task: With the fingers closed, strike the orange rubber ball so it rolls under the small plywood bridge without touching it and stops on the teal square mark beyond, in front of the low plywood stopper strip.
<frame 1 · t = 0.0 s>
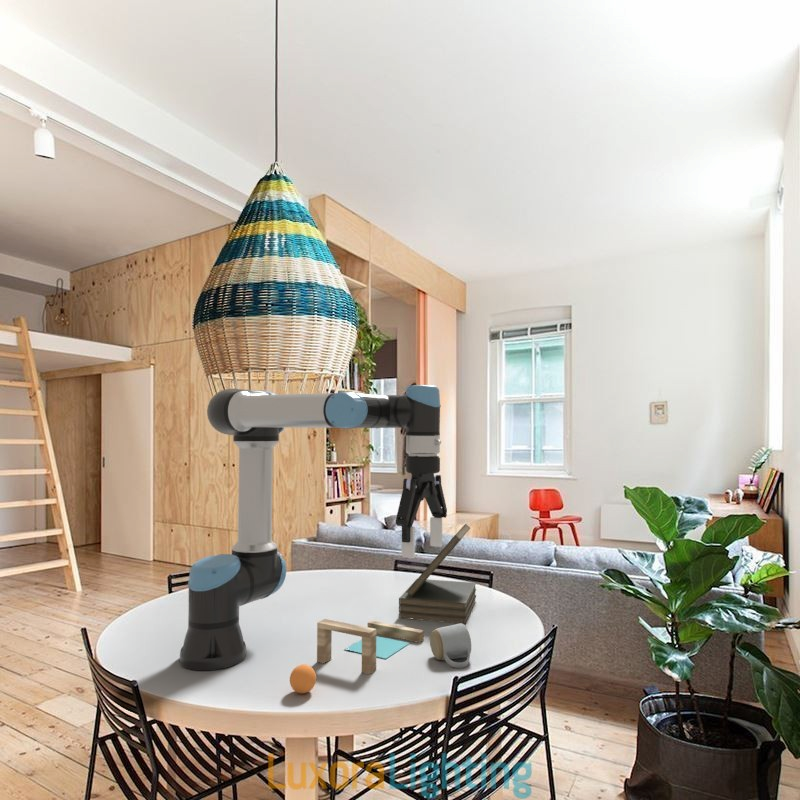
hand: (422, 551, 134), 28 cm above the table, tool pointing down, fingers open, 13 cm apart
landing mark: (377, 646, 154), on the table
ceramic mug: (453, 660, 146), on the table
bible: (439, 611, 185), on the table
stopper: (395, 636, 161), on the table
ball: (303, 678, 128), on the table
bridge: (346, 665, 141), on the table
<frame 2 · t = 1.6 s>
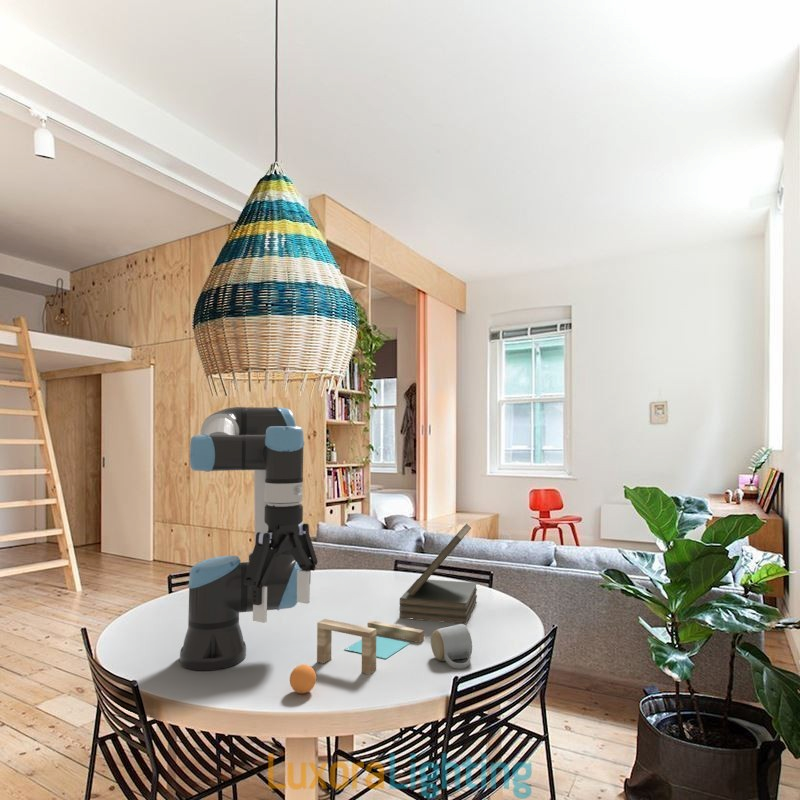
hand: (282, 611, 121), 19 cm above the table, tool pointing down, fingers open, 13 cm apart
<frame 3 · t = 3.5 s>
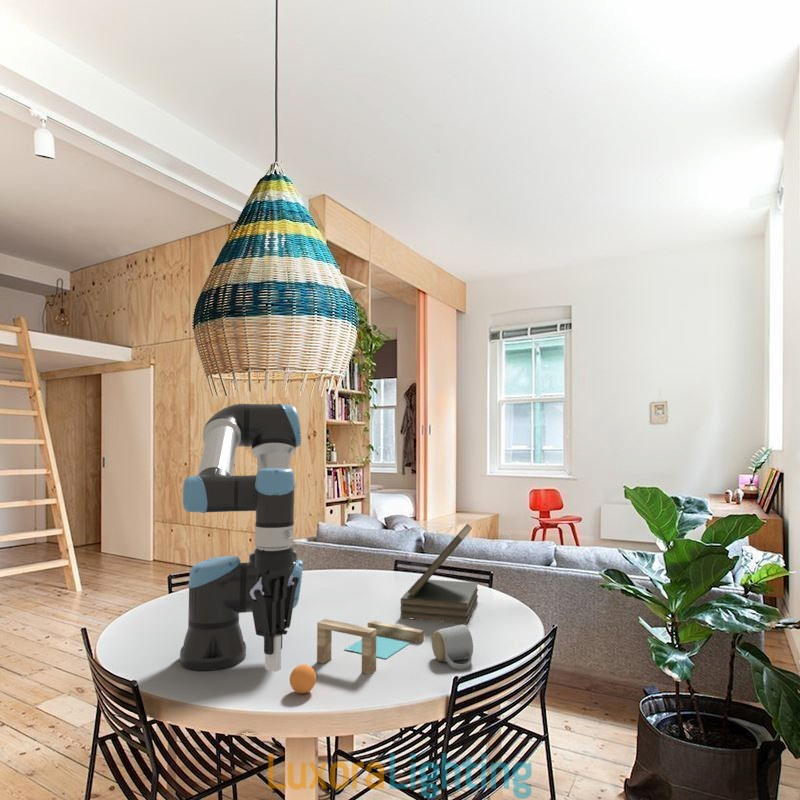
hand: (272, 669, 119), 8 cm above the table, tool pointing down, fingers closed
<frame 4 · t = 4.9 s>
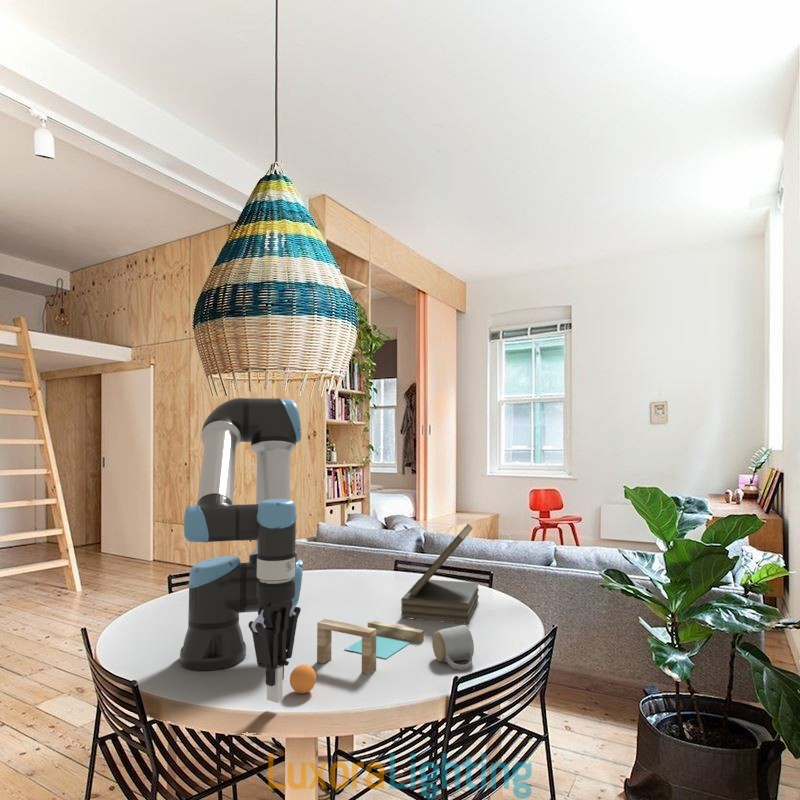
hand: (274, 699, 120), 2 cm above the table, tool pointing down, fingers closed
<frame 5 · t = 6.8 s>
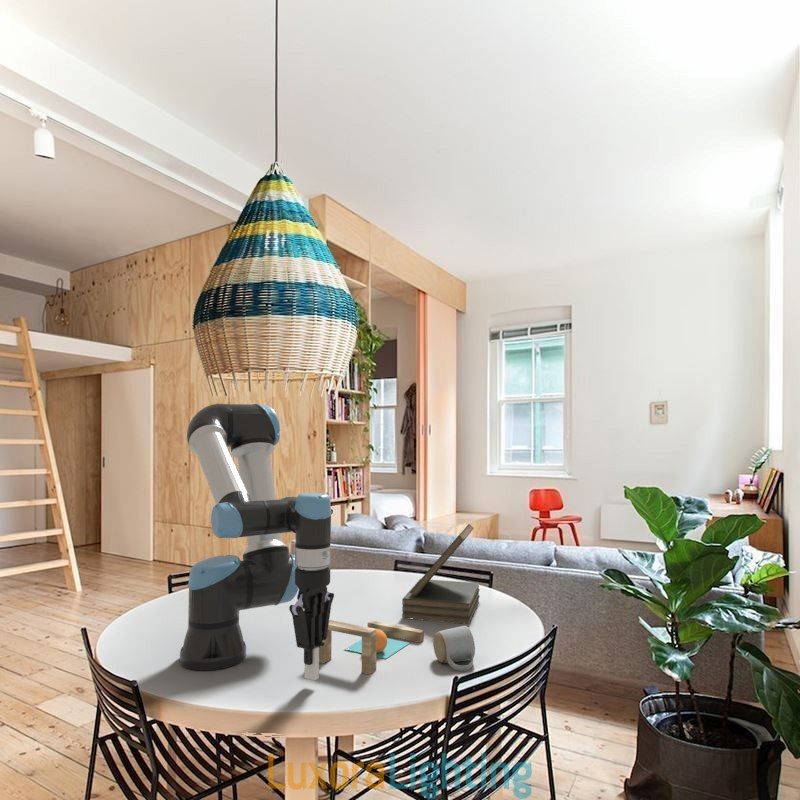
hand: (311, 677, 130), 2 cm above the table, tool pointing down, fingers closed
ball: (376, 641, 150), on the table
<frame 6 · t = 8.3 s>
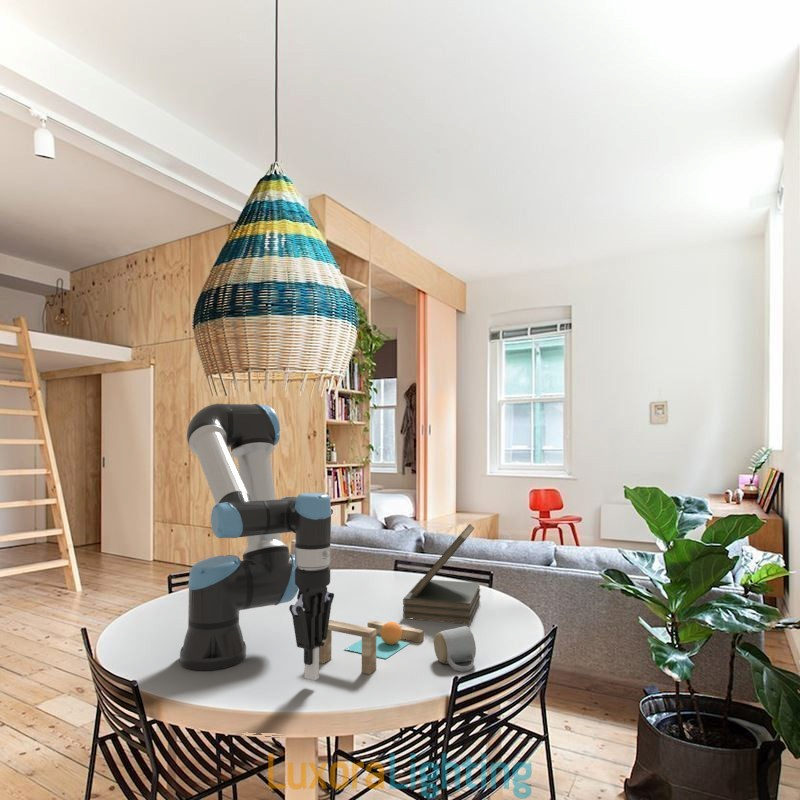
hand: (311, 677, 130), 2 cm above the table, tool pointing down, fingers closed
ball: (391, 633, 156), on the table
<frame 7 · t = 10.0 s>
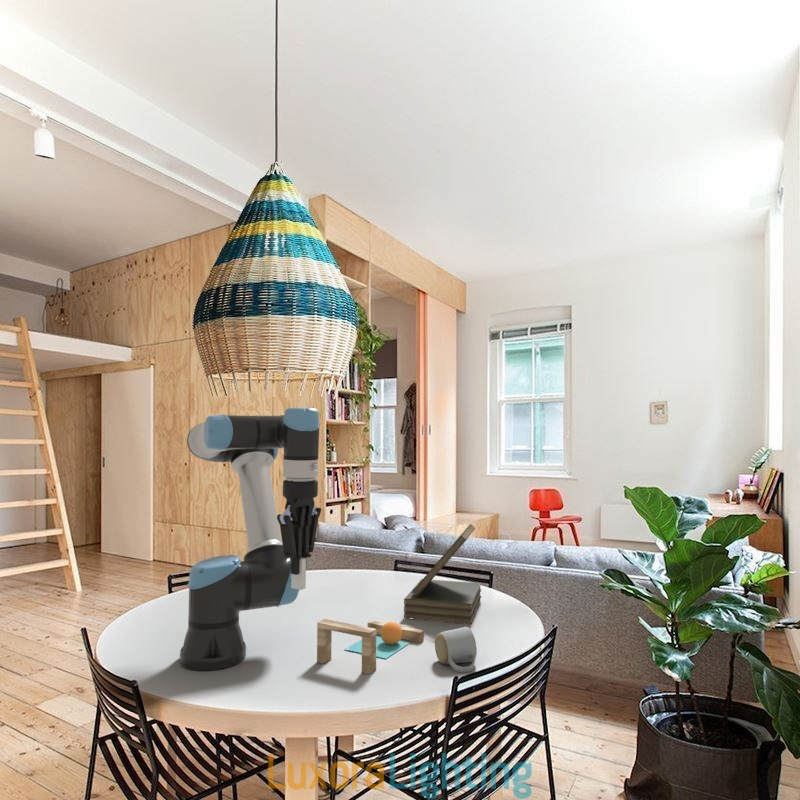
hand: (298, 588, 132), 21 cm above the table, tool pointing down, fingers closed
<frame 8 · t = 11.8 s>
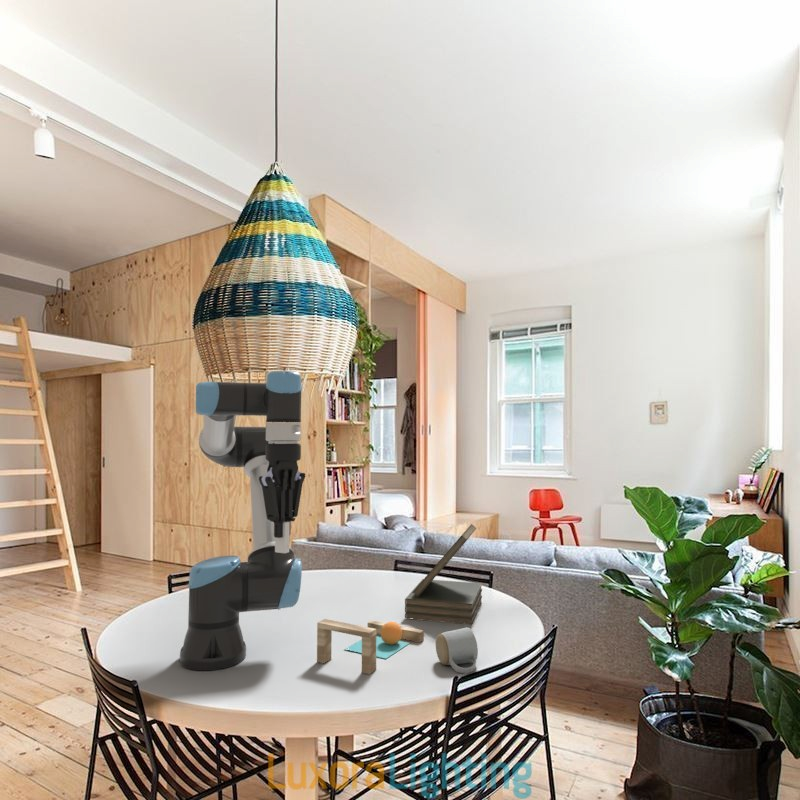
hand: (282, 552, 131), 28 cm above the table, tool pointing down, fingers closed
at the end: ball 3.9 cm from the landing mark (horizontally); ball never touched bridge; ball at rest at the end (0.0 cm/s) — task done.
